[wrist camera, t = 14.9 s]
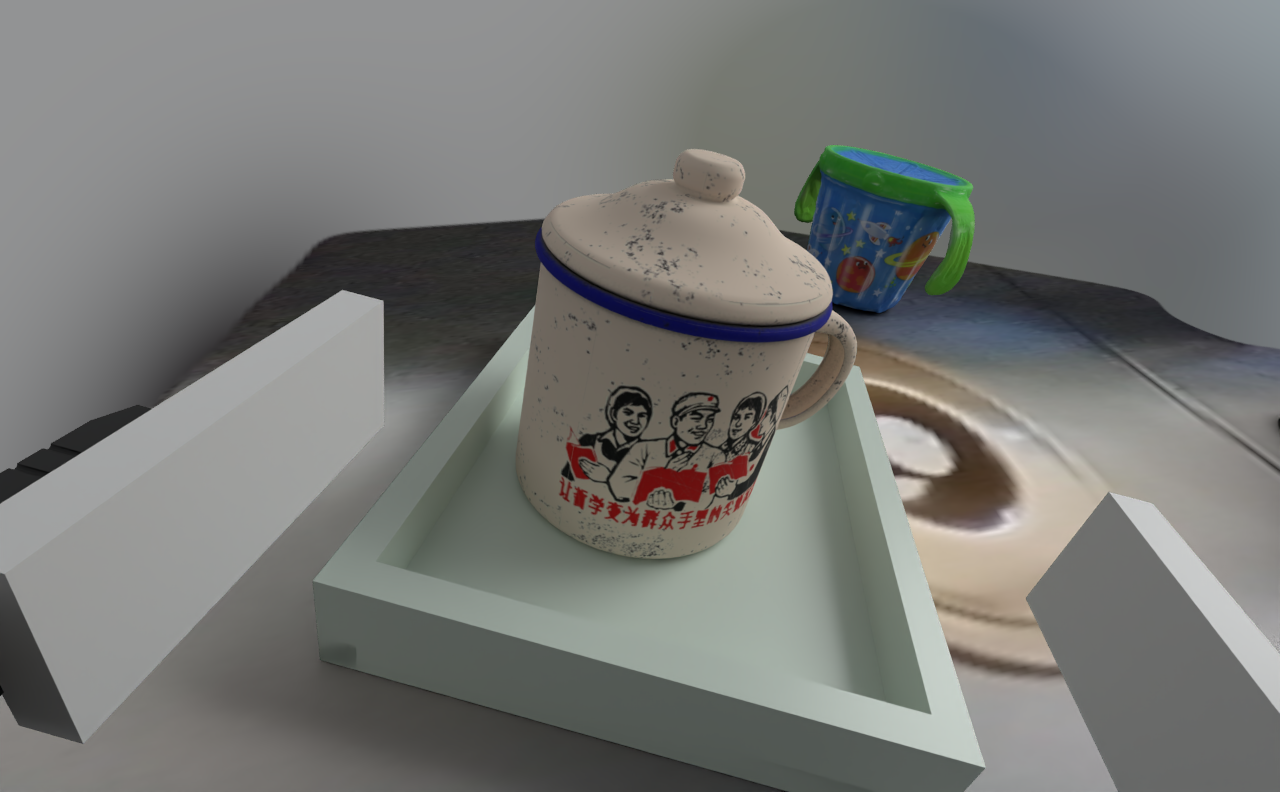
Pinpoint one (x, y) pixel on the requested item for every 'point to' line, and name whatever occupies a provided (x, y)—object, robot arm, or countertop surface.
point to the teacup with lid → (668, 359)
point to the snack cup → (883, 224)
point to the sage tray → (667, 607)
